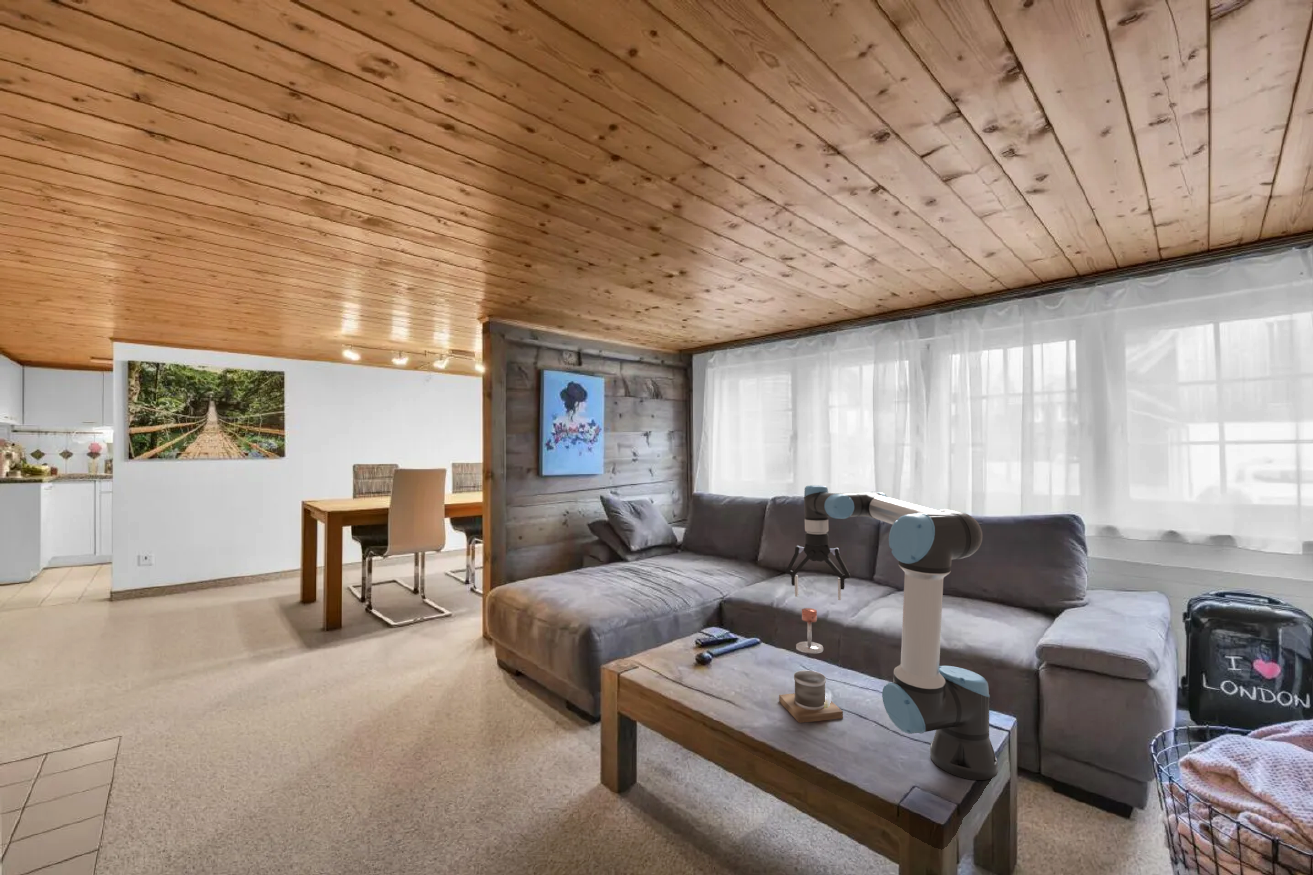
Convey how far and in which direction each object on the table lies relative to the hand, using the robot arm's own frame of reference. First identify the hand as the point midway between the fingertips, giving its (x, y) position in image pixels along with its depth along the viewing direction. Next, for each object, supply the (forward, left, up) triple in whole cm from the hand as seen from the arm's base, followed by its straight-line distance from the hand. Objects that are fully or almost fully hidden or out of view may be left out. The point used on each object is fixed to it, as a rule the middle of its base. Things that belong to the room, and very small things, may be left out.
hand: (817, 597), depth 181 cm
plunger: (-10, +8, -12) cm, 18 cm away
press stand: (-10, +8, -31) cm, 34 cm away
